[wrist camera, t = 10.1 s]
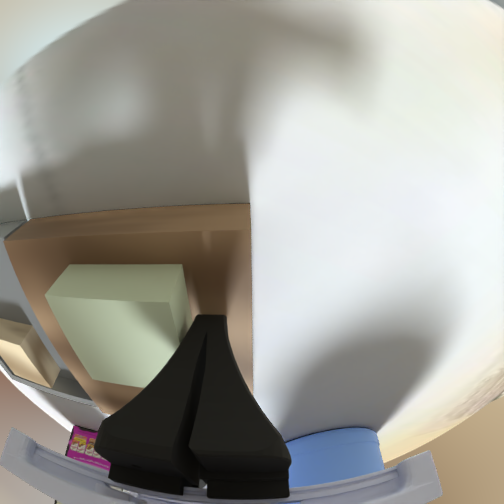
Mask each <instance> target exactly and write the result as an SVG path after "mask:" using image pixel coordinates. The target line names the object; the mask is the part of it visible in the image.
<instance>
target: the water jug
mask: <svg viewBox="0 0 504 504" xmlns="http://www.w3.org/2000/svg"><path fill="white" fill-rule="evenodd" d="M285 444H286V446H287V448H288V450H289V453H290V455H291V459H292V463H291V465H290V467H289V479H288V480H289V488H294V487H303V486H311V485H318V484H324V483H330V482H335V481H340V480H345V479H350V478H354V477H358V476H362V475H366V474H370V473H374V472H377V471H381V470H384V469H385V468H384V464H383V460H382V456H381V452H380V448H379V440H378V437H377V434H376V433H375V432H374V431H373V430H370V429H367V428H343V429H336V430H330V431H325V432H320V433H316V434H312V435H308V436H305V437H301V438H298V439H295V440H292V441H290V442H287V443H285ZM299 503H300V502H297V503H287V504H299Z"/></svg>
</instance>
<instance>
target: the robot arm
mask: <svg viewBox="0 0 504 504" xmlns="http://www.w3.org/2000/svg"><path fill="white" fill-rule="evenodd" d="M94 450H95V451H96V452H97V453H98V454H99V455H100V456H102V457H103V458H104V459H106V460H107V461H109V462H110V463H111V465H110V470H109V471H107V470H104V469H100V468H97V467H94V466H91V465H88V464H85V463H83V462H80V461H77V460H74V459H72V458H69V457H67V456H64V455H62V454H60V453H57V452H55V451H53V450H50V449H48V448H46V447H44V446H42V445H40V444H38V443H36V441H34V440H33V439H32V438H30V437H29V436H27V435H25V434H24V433H22V432H20V431H18V430H17V429H15V428H13V427H12V428H11V430H10V433H9V435H8V438H7V441H6V444H5V447H4V450H3V453H2V456H1V459H0V465H1V466H3V467H4V468H5V469H7V470H8V471H10V472H11V473H13V474H14V475H16V476H17V477H19V478H20V479H22V480H23V481H25V482H26V483H28V484H29V485H31V486H33V487H34V488H36V489H37V490H39V491H41V492H42V493H44V494H46V495H48V496H49V497H51V498H53V499H55V500H57V501H59V502H61V503H62V504H287V503H297V502H300V503H299V504H426V503H428V502H430V501H432V500H434V499H436V498H438V497H440V496H442V494H443V492H442V488H441V484H440V481H439V477H438V474H437V471H436V467H435V464H434V461H433V458H432V454H431V452H430V451H429V450H428V451H426V452H423V453H420V454H418V455H416V456H413V457H410V458H408V459H405V460H403V461H401V462H400V463H399V464H398V465H397V466H394V467H391V468H387V469H384V470H381V471H377V472H374V473H370V474H366V475H362V476H358V477H354V478H350V479H345V480H340V481H335V482H330V483H324V484H318V485H311V486H303V487H294V488H289V480H288V479H289V467H290V465H291V463H292V459H291V455H290V453H289V450H288V448H287V446H286V444H285V442H284V440H283V438H282V436H281V434H280V433H279V432H278V431H277V429H276V428H275V427H274V426H273V425H272V423H271V422H270V421H269V419H268V418H267V417H266V415H265V414H264V412H263V411H262V410H261V408H260V406H259V405H258V403H257V402H256V400H255V399H254V397H253V395H252V394H251V392H250V390H249V388H248V386H247V384H246V382H245V380H244V378H243V376H242V374H241V372H240V370H239V367H238V365H237V362H236V360H235V357H234V354H233V351H232V348H231V345H230V341H229V336H228V325H227V316H225V315H210V314H198V315H197V316H196V317H195V319H194V321H193V323H192V325H191V326H190V328H189V330H188V332H187V333H186V335H185V337H184V338H183V340H182V342H181V343H180V345H179V346H178V348H177V349H176V351H175V352H174V354H173V355H172V356H171V358H170V359H169V360H168V362H167V363H166V365H165V366H164V367H163V368H162V370H161V371H160V372H159V373H158V374H157V375H156V376H155V378H154V379H153V380H152V381H151V382H150V383H149V384H148V385H147V386H146V387H145V388H144V389H143V390H142V391H141V392H140V393H139V394H138V395H136V396H135V397H134V398H133V399H132V400H131V401H129V402H128V403H127V404H126V405H125V406H123V407H122V408H121V409H119V410H118V411H116V412H115V413H113V414H112V415H111V416H109V417H108V418H106V419H105V420H103V421H102V423H101V426H100V428H99V430H98V433H97V437H96V440H95V444H94ZM110 486H113V487H116V488H120V489H123V490H127V491H131V492H130V493H125V492H122V491H119V490H116V489H113V488H111V487H110Z"/></svg>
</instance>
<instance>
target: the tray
mask: <svg viewBox="0 0 504 504" xmlns="http://www.w3.org/2000/svg"><path fill="white" fill-rule="evenodd" d="M25 223H27V220H21V221H15V222H8V223H1V224H0V318H2V319H6V320H10V321H14V322H18V323H23V324H27V325H32V326H33V327H34V329H35V330H36V332H37V334H38V335H39V337H40V339H41V340H42V342H43V344H44V345H45V347H46V348H47V350H48V351H49V353H50V354H51V356H52V357H53V359H54V360H55V362H56V363H57V365H58V366H59V368H60V369H61V370H60V372H59V374H58V376H57V378H56V380H55V383H54V385H53V387H52V388H49V387H46V386H44V385H41V384H38V383H35V382H32V381H30V380H27V379H24V378H22V377H19V376H17V375H15V374H14V373H13V371H12V370H11V369H10V368H9V366H8V365H7V364H6V362H5V361H4V360H3V358H2V357H1V356H0V364H1V366H2V367H3V368H4V370H5V371H6V372H7V373H8V375H9V376H10V377H11V378H12V379H13V380H16V381H18V382H21V383H23V384H26V385H28V386H31V387H33V388H36V389H39V390H41V391H44V392H47V393H50V394H53V395H56V396H59V397H62V398H66V399H69V400H72V401H76V402H80V403H83V404H87V405H91V406H95V407H98V406H97V405H96V404H95V403H94V401H93V400H92V399H91V398H90V396H89V395H88V394H87V393H86V391H85V390H84V389H83V388H82V386H81V385H80V384H79V382H78V381H77V380H76V378H75V377H74V376H73V374H72V373H71V371H70V370H69V369H68V367H67V366H66V364H65V363H64V361H63V360H62V358H61V357H60V355H59V354H58V352H57V351H56V349H55V348H54V346H53V344H52V343H51V341H50V340H49V338H48V336H47V335H46V333H45V331H44V330H43V328H42V326H41V324H40V322H39V321H38V319H37V317H36V315H35V313H34V311H33V310H32V308H31V306H30V304H29V302H28V300H27V298H26V296H25V293H24V291H23V289H22V287H21V285H20V283H19V280H18V278H17V276H16V274H15V271H14V269H13V266H12V264H11V261H10V259H9V256H8V253H7V251H6V248H5V245H4V242H3V241H4V240H5V239H6V238H8V237H9V236H10V235H11V234H13V233H14V232H15V231H16V230H18V229H19V228H20V227H21V226H23V225H24V224H25Z"/></svg>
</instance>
